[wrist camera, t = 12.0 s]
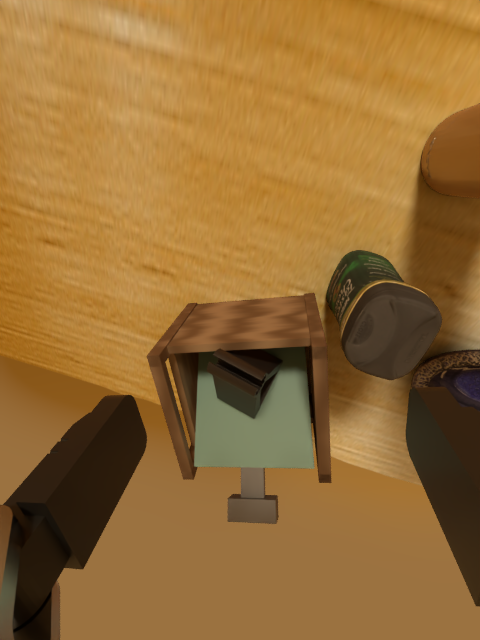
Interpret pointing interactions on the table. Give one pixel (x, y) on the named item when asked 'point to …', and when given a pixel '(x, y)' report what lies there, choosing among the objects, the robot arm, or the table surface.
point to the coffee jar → (380, 316)
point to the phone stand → (244, 377)
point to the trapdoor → (256, 433)
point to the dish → (453, 375)
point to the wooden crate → (239, 334)
